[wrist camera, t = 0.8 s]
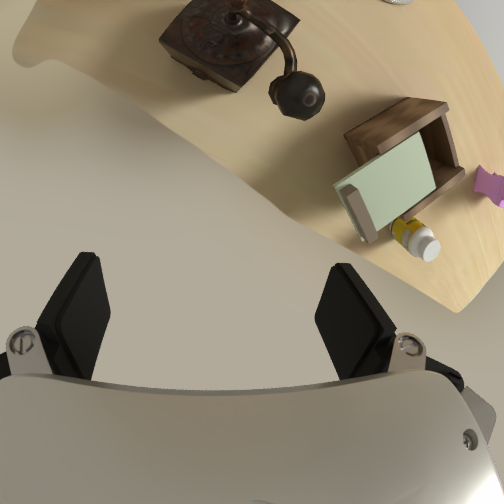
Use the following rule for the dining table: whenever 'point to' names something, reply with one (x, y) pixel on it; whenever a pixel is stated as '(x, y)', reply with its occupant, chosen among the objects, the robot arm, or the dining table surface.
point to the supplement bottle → (415, 238)
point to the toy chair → (490, 186)
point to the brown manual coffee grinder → (243, 49)
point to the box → (402, 126)
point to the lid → (386, 186)
